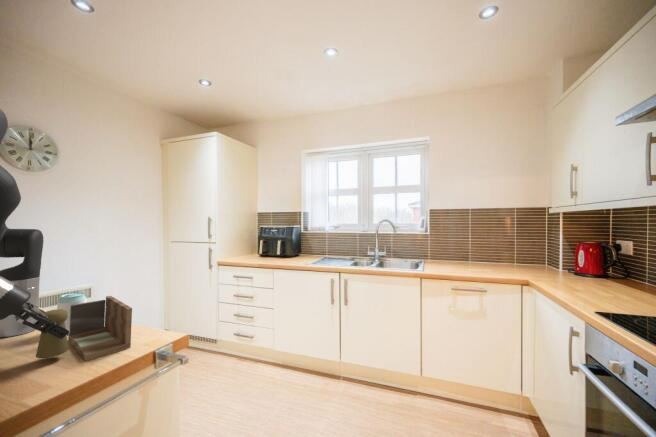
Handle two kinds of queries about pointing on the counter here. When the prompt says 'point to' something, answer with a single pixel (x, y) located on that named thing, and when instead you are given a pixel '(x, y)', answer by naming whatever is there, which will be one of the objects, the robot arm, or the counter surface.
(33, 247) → the robot arm
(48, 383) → the counter surface
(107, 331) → the shelf
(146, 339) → the counter surface
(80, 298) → the can
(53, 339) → the cork
